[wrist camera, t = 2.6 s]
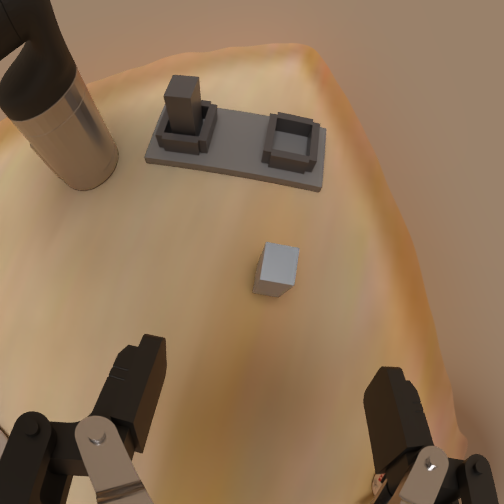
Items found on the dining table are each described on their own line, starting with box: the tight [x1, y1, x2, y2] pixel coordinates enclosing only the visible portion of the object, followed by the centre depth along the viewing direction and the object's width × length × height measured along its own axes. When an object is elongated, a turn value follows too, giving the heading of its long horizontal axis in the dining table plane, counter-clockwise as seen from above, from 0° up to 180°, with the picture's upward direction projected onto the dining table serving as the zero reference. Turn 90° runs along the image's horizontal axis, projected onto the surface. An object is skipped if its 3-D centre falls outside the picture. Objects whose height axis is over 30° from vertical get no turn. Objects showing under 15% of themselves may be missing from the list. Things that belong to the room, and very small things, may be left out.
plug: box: [252, 242, 299, 297], centre depth 35 cm, size 3×4×10 cm
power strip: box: [144, 75, 326, 192], centre depth 38 cm, size 24×10×11 cm, turn 80°
